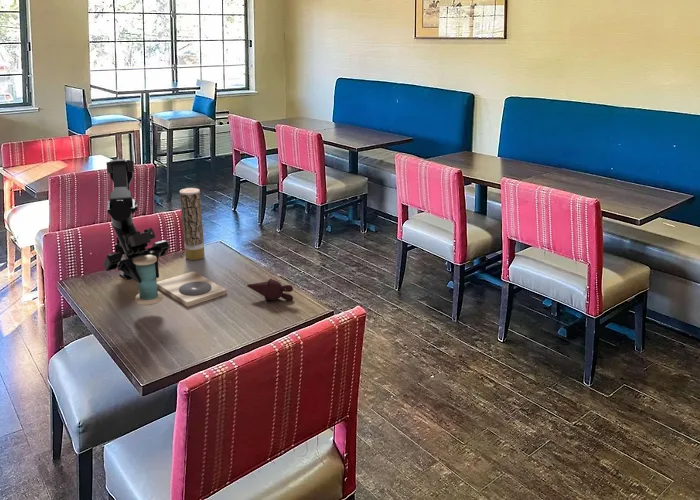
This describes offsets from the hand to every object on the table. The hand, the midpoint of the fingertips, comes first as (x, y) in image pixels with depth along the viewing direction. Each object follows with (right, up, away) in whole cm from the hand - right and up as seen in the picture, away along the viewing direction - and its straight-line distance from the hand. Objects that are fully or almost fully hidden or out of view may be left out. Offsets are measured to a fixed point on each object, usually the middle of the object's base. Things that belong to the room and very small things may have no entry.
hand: (149, 280), depth 187 cm
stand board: (+7, -4, +20) cm, 22 cm away
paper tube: (+2, +6, +47) cm, 47 cm away
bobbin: (-1, -6, +3) cm, 7 cm away
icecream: (+33, -7, +14) cm, 37 cm away
